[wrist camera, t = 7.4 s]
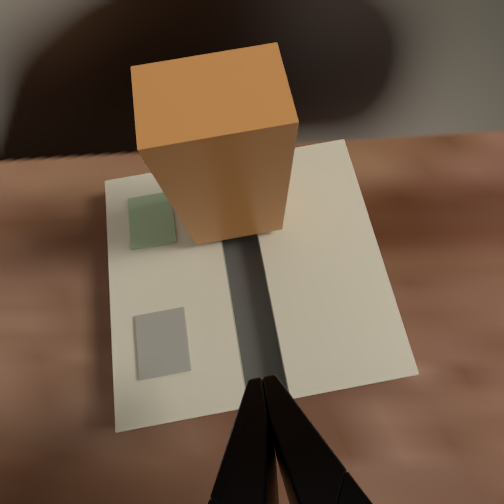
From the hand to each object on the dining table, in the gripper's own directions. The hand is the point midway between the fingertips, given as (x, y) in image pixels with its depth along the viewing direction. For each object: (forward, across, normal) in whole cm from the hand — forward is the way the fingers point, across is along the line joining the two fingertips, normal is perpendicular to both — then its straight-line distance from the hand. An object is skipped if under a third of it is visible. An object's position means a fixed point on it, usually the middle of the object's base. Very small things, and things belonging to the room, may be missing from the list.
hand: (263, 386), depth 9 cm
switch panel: (+9, 0, +1) cm, 9 cm away
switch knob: (+10, 0, -2) cm, 10 cm away
